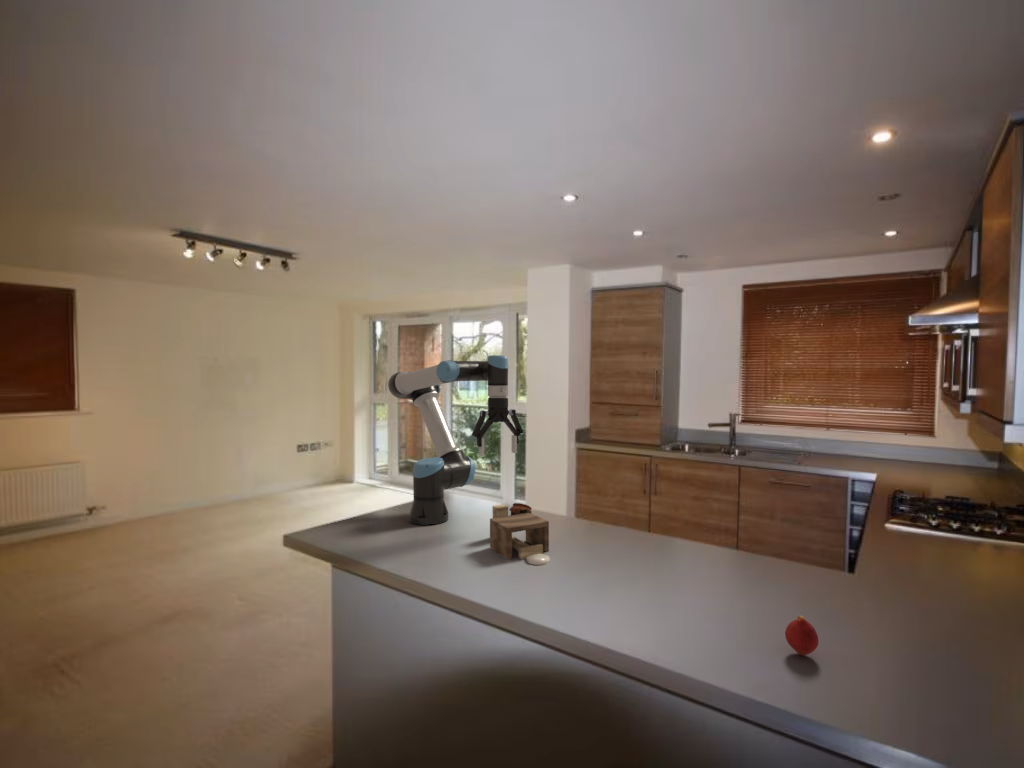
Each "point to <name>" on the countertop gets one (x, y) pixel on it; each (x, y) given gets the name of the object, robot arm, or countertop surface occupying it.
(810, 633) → the onion
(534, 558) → the ceramic disc
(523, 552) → the wooden mallet
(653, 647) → the countertop surface
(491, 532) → the walnut bench
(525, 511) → the pottery mug
